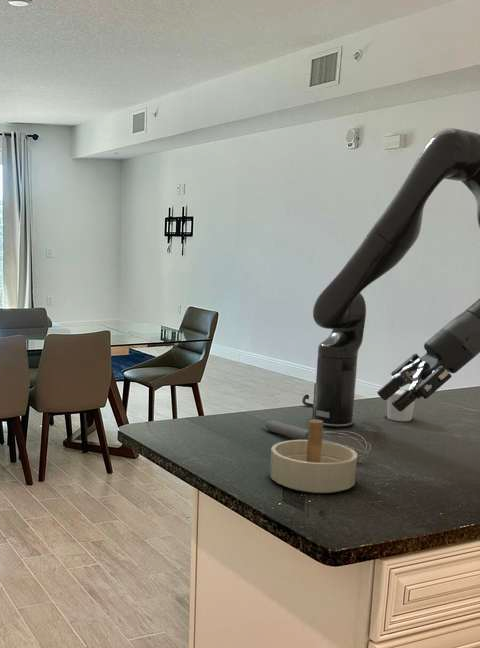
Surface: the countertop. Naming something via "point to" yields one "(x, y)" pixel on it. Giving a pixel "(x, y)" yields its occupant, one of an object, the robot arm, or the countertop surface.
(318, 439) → the tan wooden post
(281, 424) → the kitchen whisk
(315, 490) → the bowl
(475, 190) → the robot arm
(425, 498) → the countertop surface
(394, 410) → the white cup
